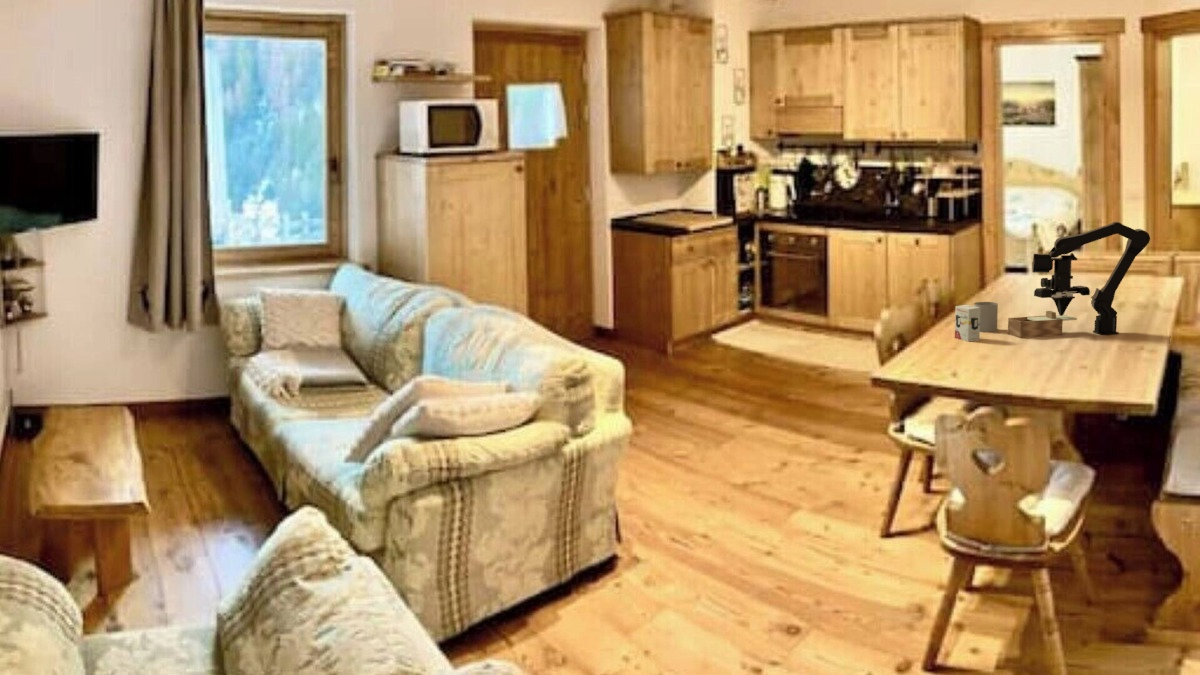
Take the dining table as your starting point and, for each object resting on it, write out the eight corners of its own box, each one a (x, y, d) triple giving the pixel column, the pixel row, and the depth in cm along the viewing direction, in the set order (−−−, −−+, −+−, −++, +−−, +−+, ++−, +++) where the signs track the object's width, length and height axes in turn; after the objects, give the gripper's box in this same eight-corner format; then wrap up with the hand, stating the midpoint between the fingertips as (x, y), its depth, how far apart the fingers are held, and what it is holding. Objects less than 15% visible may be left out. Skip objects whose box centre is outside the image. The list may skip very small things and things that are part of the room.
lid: (1065, 316, 439) (1065, 309, 439) (1076, 319, 432) (1077, 312, 431) (1027, 319, 437) (1027, 311, 437) (1037, 322, 430) (1038, 314, 429)
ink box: (954, 337, 434) (954, 305, 432) (965, 336, 435) (966, 304, 433) (968, 341, 426) (968, 308, 424) (980, 340, 427) (980, 307, 425)
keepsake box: (1048, 331, 440) (1049, 315, 439) (1062, 335, 431) (1062, 319, 430) (1007, 333, 438) (1008, 318, 437) (1020, 338, 429) (1020, 321, 428)
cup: (999, 329, 447) (1000, 302, 446) (994, 332, 441) (994, 305, 439) (976, 327, 452) (977, 301, 450) (970, 331, 445) (971, 304, 443)
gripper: (1074, 268, 441) (1073, 310, 444) (1026, 271, 438) (1025, 313, 441) (1091, 272, 430) (1089, 315, 433) (1042, 275, 428) (1041, 318, 430)
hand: (1061, 315), depth 435 cm, fingers closed
